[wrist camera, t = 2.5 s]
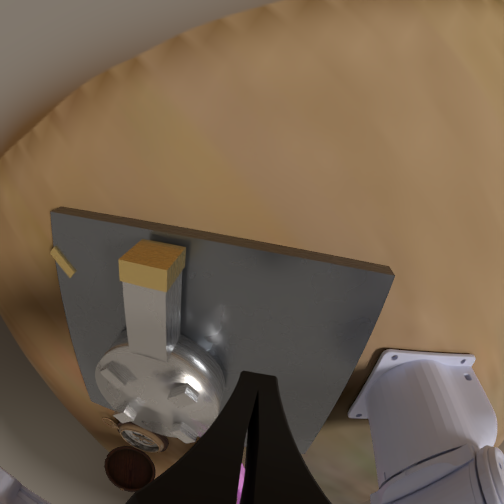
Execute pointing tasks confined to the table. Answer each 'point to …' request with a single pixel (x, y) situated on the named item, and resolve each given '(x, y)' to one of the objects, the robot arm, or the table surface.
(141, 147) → the table surface
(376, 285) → the plate
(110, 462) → the compass
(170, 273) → the silver disc with handle
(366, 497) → the table surface
